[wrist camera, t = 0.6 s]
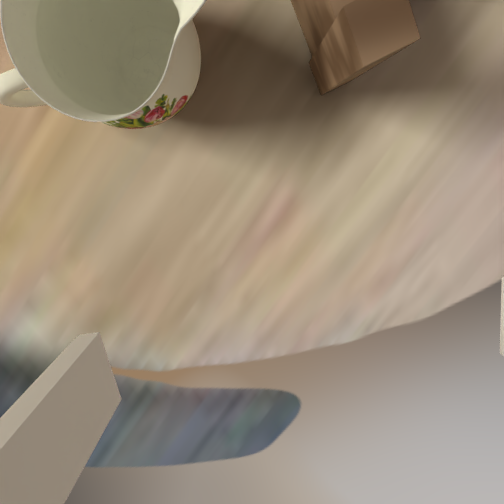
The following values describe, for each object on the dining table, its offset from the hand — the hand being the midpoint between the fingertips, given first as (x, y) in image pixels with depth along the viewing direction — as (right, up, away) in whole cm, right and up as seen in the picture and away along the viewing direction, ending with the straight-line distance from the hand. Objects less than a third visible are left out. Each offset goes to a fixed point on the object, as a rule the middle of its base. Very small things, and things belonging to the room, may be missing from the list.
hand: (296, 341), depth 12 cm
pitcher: (-12, +20, +22) cm, 32 cm away
